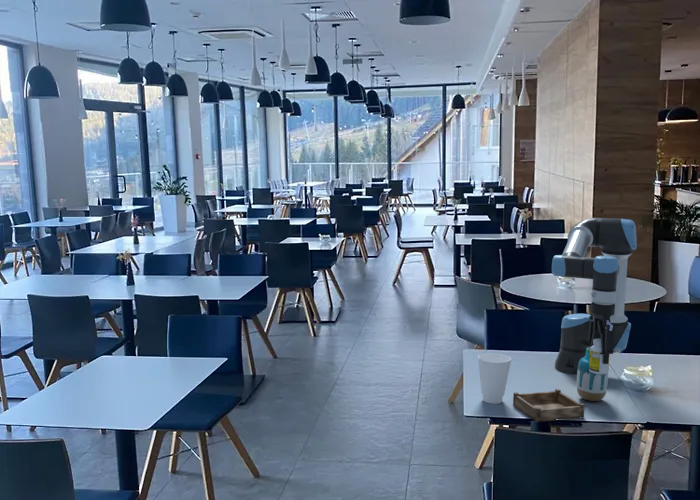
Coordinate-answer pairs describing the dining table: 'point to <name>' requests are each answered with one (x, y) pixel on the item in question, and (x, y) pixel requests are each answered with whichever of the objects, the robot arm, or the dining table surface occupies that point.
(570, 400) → the crate
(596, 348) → the pill bottle
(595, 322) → the robot arm
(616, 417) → the dining table surface
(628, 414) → the dining table surface
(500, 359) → the cup
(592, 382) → the vase
